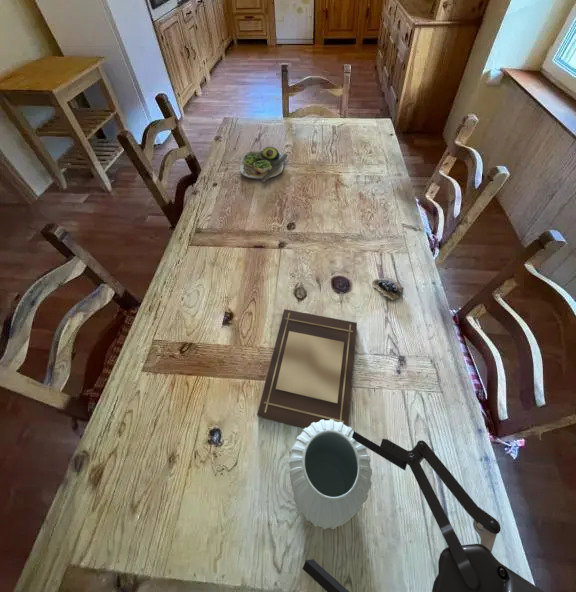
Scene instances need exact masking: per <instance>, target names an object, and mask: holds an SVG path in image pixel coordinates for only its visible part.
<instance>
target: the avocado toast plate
mask: <svg viewBox="0 0 576 592" xmlns="http://www.w3.org/2000/svg"><path fill="white" fill-rule="evenodd" d="M287 156H288V154H287V153H284V154H283V153H281V151H279V150H278V149H277V148H276V147H274V146H266V147H264V148H263V150H251V151H247V152H245V153H244V154H243V155H242V156H241V158H240V159H241V160H240V166H239V172H240V174H241V175H242V176H243V177H245V178H247V179H251V180H260V181H261V182H262V183H265V182H267V180H269V179H270V178H274V177H276V176H279V175H280V174H281V173H282V172H283V170H284V161H285V160H286V158H287Z"/></svg>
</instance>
